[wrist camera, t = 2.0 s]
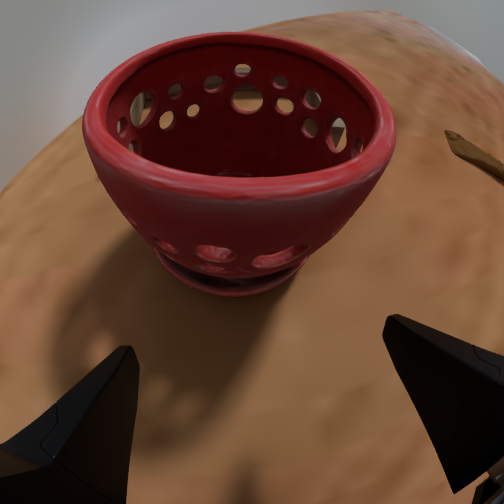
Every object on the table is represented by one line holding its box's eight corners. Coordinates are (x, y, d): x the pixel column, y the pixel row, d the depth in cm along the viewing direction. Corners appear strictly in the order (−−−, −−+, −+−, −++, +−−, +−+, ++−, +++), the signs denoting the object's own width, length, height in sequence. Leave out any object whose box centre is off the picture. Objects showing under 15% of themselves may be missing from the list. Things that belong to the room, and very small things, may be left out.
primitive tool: (451, 154, 26) (464, 138, 23) (441, 130, 29) (452, 114, 25) (522, 201, 26) (534, 190, 23) (512, 176, 28) (523, 165, 25)
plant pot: (327, 313, 17) (449, 229, 6) (132, 298, 17) (18, 199, 6) (317, 162, 23) (359, 43, 12) (169, 151, 22) (144, 29, 11)
